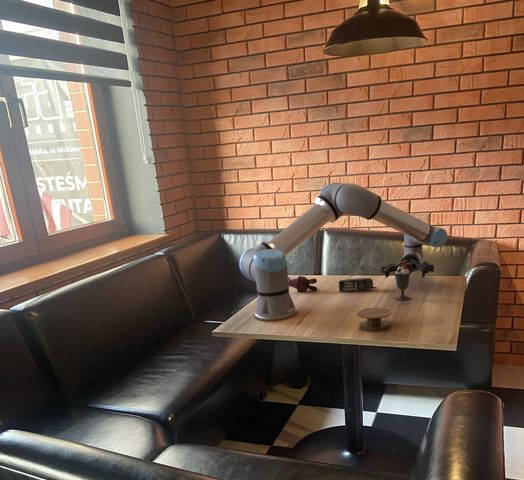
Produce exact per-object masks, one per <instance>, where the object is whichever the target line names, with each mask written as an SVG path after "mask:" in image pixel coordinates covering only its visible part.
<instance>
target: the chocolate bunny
mask: <svg viewBox="0 0 524 480" xmlns="http://www.w3.org/2000/svg"><path fill="white" fill-rule="evenodd" d="M317 282H318V280H317V278H315V277H314V278H309V279H308V278H307V277H306V276H302V275H299V276H298V277H295V278H292V279H290V280H289V281H288V285H289V287H291V288H293V289H296V292H297V293H299V292H305V291H308V290H309V291H313V292H317V291H318V287H317V286H315V284H317Z"/></svg>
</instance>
